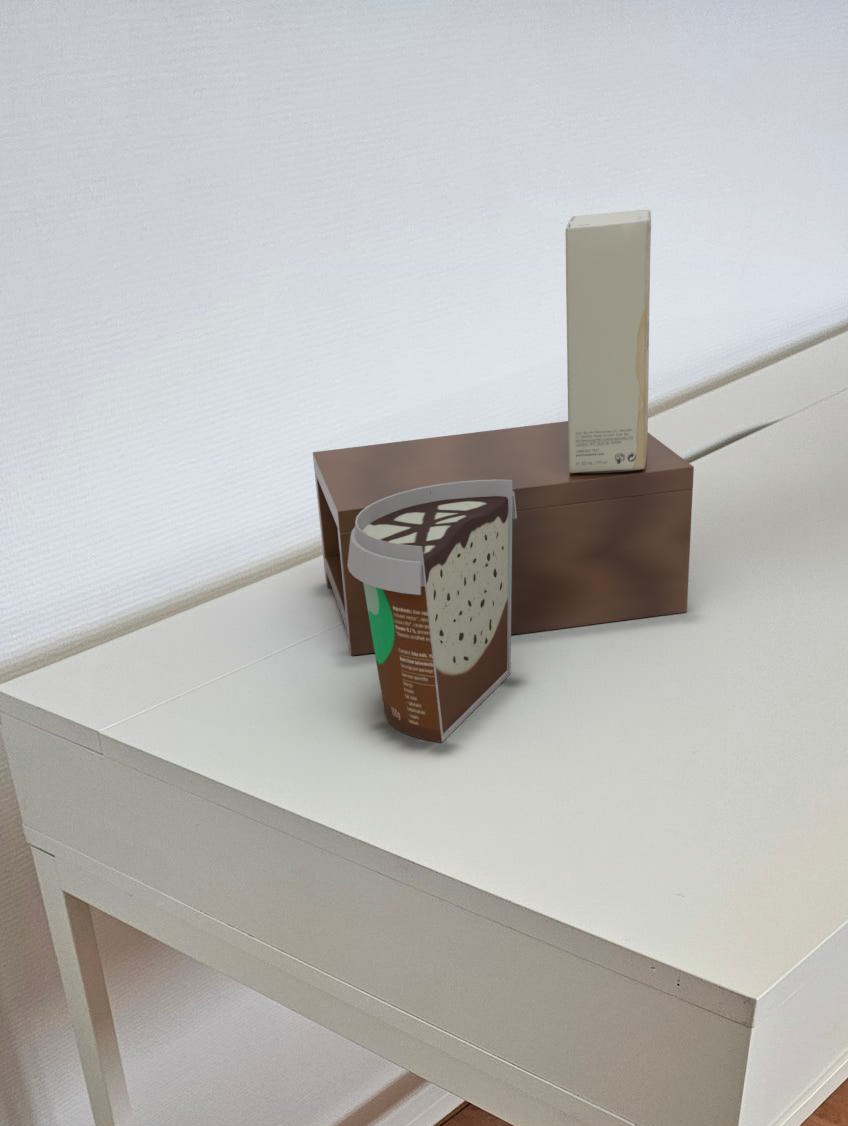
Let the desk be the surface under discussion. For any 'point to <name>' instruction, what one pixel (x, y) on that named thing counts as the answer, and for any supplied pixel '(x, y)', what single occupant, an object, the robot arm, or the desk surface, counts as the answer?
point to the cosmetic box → (608, 340)
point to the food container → (437, 599)
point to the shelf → (530, 523)
